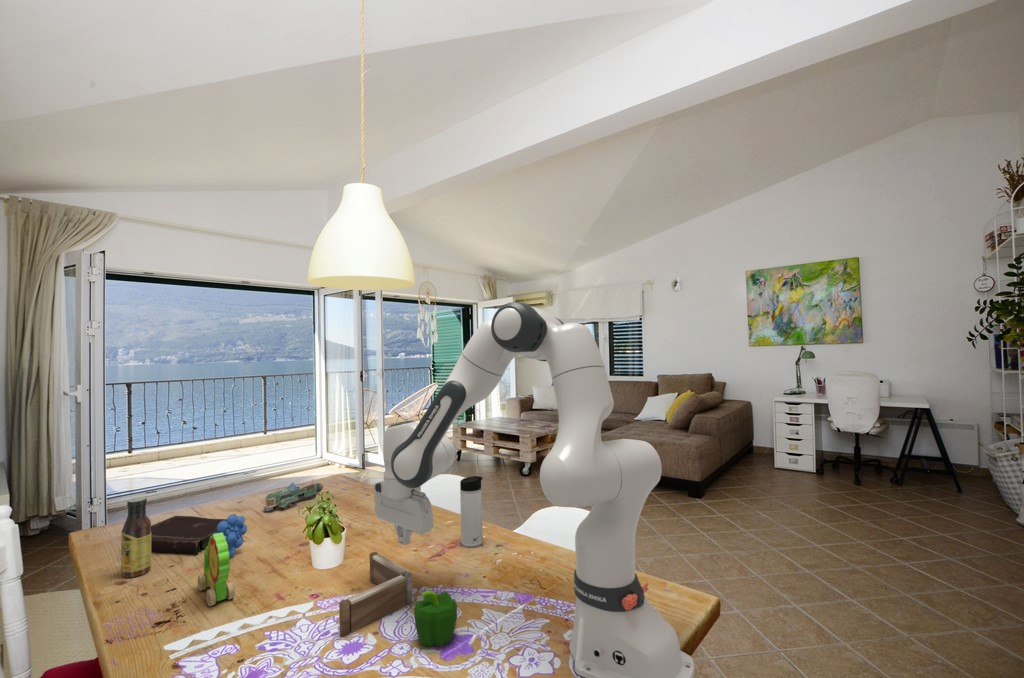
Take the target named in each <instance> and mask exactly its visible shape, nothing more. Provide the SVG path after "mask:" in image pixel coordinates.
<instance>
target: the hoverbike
mask: <svg viewBox="0 0 1024 678" xmlns="http://www.w3.org/2000/svg"><path fill="white" fill-rule="evenodd" d="M315 481H316V480H315V479H312V481H311V484H309V485H306V486H303V487H300V486H297V485H296V484H295V483H294V482H291V483H290V484H289V485H288V486H287V487H286V488H284V489H280V490H278V491H275V492H271V493H269V494H267V495H266V496H265V498H264V499H265V506H264V507H263V510H264V511H265V512H267V514H268V513H273V510H275V511H278V510H280V509H281V508H282V510H287V509H288V507H289V506H288V505H291V504H292V506H293V507H296V506H297V505H298V502H300V501H303V500H307V501H308V500H312V499H314V498H315V497H316V495H317V493H320V492H322V491H323V489H324V485H323V483H321V482H317V483H316V482H315ZM313 483H314V484H313ZM278 506H279V508H278ZM277 508H278V509H277Z"/></svg>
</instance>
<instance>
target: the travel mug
mask: <svg viewBox="0 0 1024 678" xmlns="http://www.w3.org/2000/svg"><path fill="white" fill-rule="evenodd" d="M482 480H483V476H480V475H479V476H477V475H475V476H474V475H473V476H468V477H467V476H466V477H465V478H464V477H463V478H462V479H461V480H460V481H459V482H460V483H459V485H460V488H459V489H460V492H459V495H460V497H459V498H460V499H459V500H460V529H461V530H460V536H461V537H460V538H461V539H460V540H461V541H460V542H461V543H460V544H461V546H462V547H463V548H466V549H477V548H480V547H483V545H484V541H483V539H484V538H483V535H484V533H483V532H484V531H483V502H482V501H483V500H482V499H483V498H482V495H483V493H482Z"/></svg>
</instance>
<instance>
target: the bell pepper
mask: <svg viewBox="0 0 1024 678" xmlns="http://www.w3.org/2000/svg"><path fill="white" fill-rule="evenodd" d="M421 595H422V597H423V600H418V601H417V602H416V603H415V606H414V610H413V611H414V625H415V629H416V633H417V636H418V640H419V642H420V643H421V644H422V645H423V646H425V647H431V648H432V647H434V646H436V647H444V646H445V645H447V644H448V643H450V642H451V640H452V639H453V636H454V633H455V628H456V625H457V624H456V623H457V619H458V604H457V602H456V600H455V598H452V597H451V595H450V594H449V593H448V592H447V591H445V592H441V593H436V592H434V591H432V590H426V591H424V592H421Z"/></svg>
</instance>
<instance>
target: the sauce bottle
mask: <svg viewBox="0 0 1024 678" xmlns="http://www.w3.org/2000/svg"><path fill="white" fill-rule="evenodd" d="M147 501H148V498H147V497H145V496H140V497H139V496H137V497H133V498H131V499H128V500H127V502H126V506H127V518H126V520H125V522H124V525H123V527H122V530H121V551H120V552H121V553H120V554H121V556H120V557H121V574H122V575H121V576H122V577H124V578H129V579H130V578H136V577H140V576H143V575H145V574H147V573H148V572H150V570H151V565H152V553H151V526H152V522H151V519H150V518H149V517H148V515H146V514H147V511H146V510H147V509H146V508H147Z"/></svg>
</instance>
